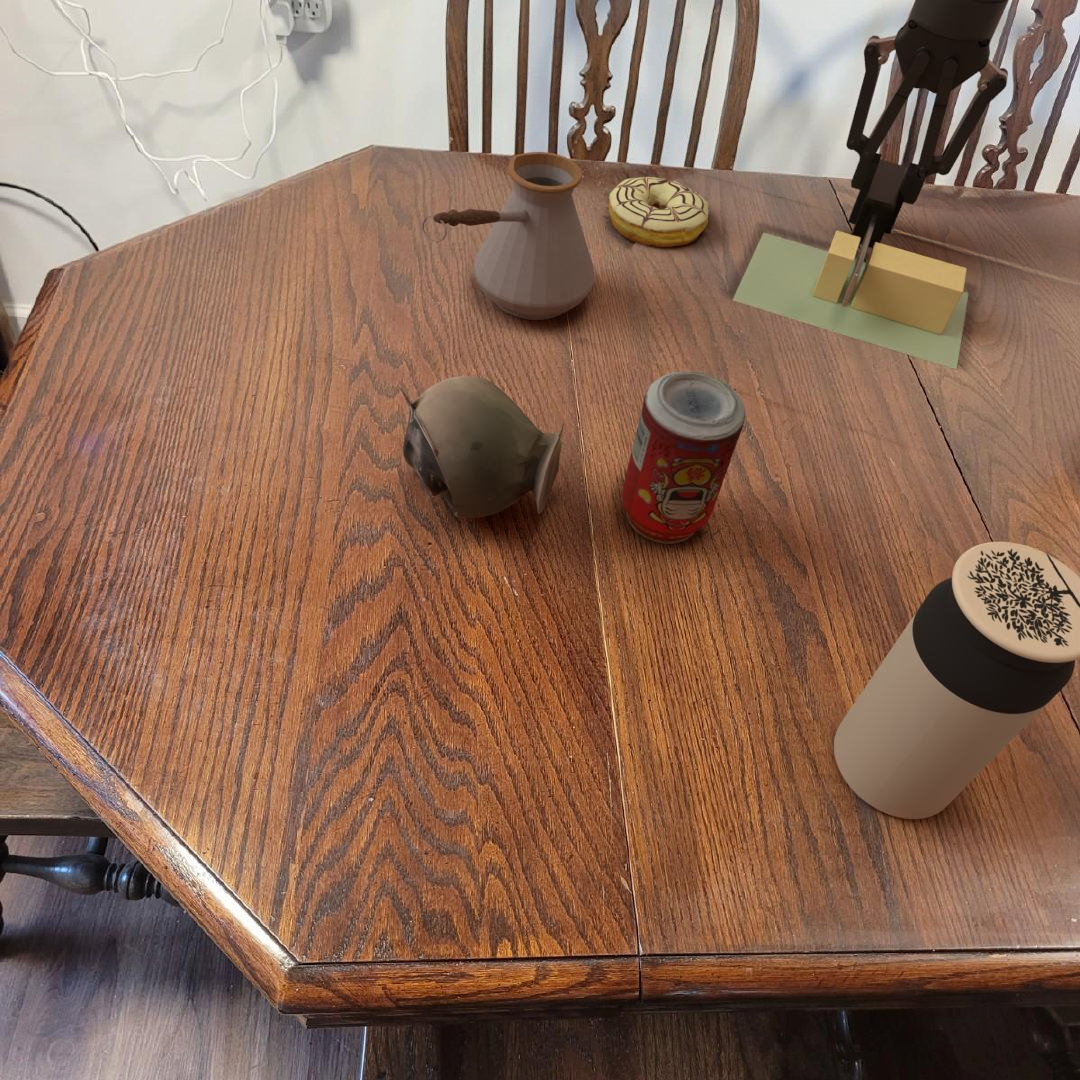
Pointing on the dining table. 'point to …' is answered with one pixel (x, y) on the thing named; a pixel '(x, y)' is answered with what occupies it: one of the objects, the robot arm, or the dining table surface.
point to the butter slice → (836, 266)
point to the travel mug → (962, 679)
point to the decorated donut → (657, 211)
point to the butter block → (909, 288)
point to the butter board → (787, 287)
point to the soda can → (680, 454)
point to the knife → (876, 213)
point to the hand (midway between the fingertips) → (870, 221)
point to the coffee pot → (532, 240)
